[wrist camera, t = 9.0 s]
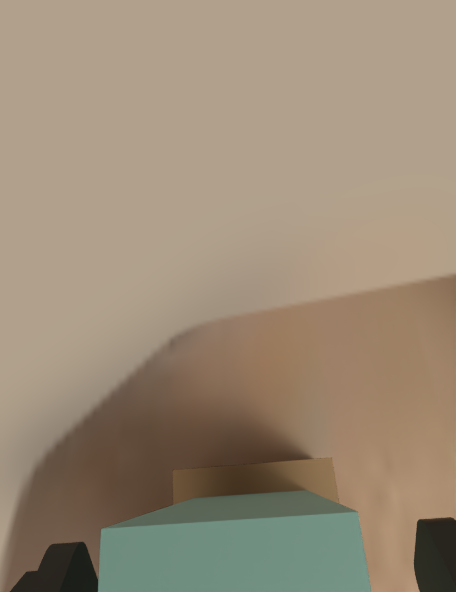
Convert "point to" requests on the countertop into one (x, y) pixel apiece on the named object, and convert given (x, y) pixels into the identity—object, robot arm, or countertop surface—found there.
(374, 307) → the countertop surface
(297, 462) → the tower base
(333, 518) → the teal brick
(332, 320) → the countertop surface
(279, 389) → the countertop surface
